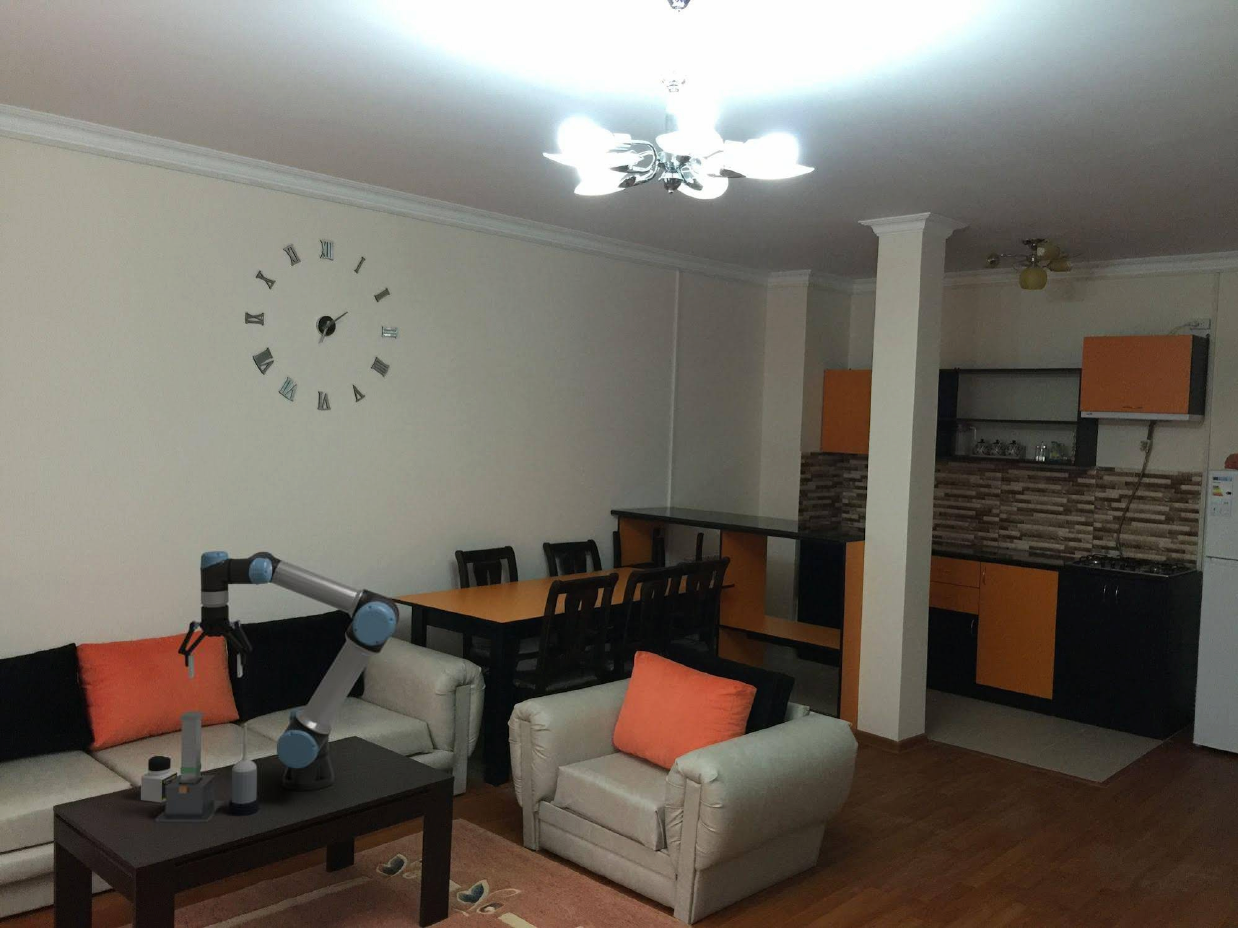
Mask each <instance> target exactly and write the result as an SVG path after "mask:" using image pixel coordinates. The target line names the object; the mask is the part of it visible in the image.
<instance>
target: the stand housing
mask: <svg viewBox="0 0 1238 928" xmlns="http://www.w3.org/2000/svg"><path fill="white" fill-rule="evenodd" d="M215 780H216V777H215V775H214V774H213V775H211V774H206V775H205V774H202V775H201V774H200V782H199V783H198V784H197V785H190V784H181V774H178V775H177V777H176V778H175V779H174V780H173V781H172V782H171V783H170V784H169V785H168V786H167V787H166V801H165V809H164V810H163V811H162V812H161V813H160V814H159V815H158V816H157V817H156V818H155V820H154V821H155V823H208V822H209V821H210V820H211V819H212V818H213V816H214V815H215V814H216V813H217V812H218V811H219V809H220V808H221V807H222V806H223V805H224V803H225V802H224V800H215V783H216V782H215Z"/></svg>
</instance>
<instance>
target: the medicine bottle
mask: <svg viewBox="0 0 1238 928" xmlns="http://www.w3.org/2000/svg"><path fill="white" fill-rule="evenodd" d="M147 761H148V762H147V767H148V768H147V773H146V774H144V775H141V777H140V800H141V801H146V802H147V801H148V802H154V803H155V802H156V803H164V802H166V787H167V786H168V785H169V784H170V783H171V782H172V781H173V780H174V779H175V778H176V777H178V771H177V770H172V769H171V768H172V767H171V766H172V758H171V757H170V756H169V755H166V754H159V755H158V754H157V755H154V756H152V757H150V758H149V759H148V760H147Z"/></svg>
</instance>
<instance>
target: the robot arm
mask: <svg viewBox="0 0 1238 928" xmlns="http://www.w3.org/2000/svg"><path fill="white" fill-rule="evenodd" d="M199 570H200V571H199V572H200V573H199V574H200V605H202V606H201V607H200V621H195V620H192V621H191V622H190V623H189V624H188V630H187V632H186V635H185V637H184V638H183V641H182V643H181V645H180V647H179V649H178V651H177V654H178V655H184V666H185V668H186V667H187V668H188V679H189V680H190V679H193V678H194V677H195V654H193V653H192V652H193V651H195V649H196V648H197V647H198V645H200V643H201V642H202V641H203V640H204V638H205V637H206V636H207V637H208V638H214V637H217V638H220V637H223V638H225V640H227V642H229V643H230V645H231V646H232V647H233V648H234V649H235V650H236V652H238V654H237V656H236V659H237V665H236V666H237V670H236V672H237V678H242V676H243V666H245V665H246V664H247V663H246V662H247V660H246V659H247V658H246V657H247V654H248V653H250V652H251V651H252V650H253V647H252V645H251V642H250V641H249V639H248V638H247V635H246V634H245V632H244V630H243V628H242V625H241V620H240V619H237V620H234V621H230V615H229V614H230V611H229V608H230V607H229V606H230V605H228V603H229V600H230V599H229V585H255V586H256V585H257V586H258V585H265V584H266V585H267V584H268V583H270V584H273V585H276V586H279V587H281V588H284V589H286V590H289V591H291V592H294V593H297V594H299V595H302V596H304V597H306V598H309V599H312V600H314V601H317V602H319V603H321V604H324V605H327V606H329V607H332V608H335V609H337V610H339V611H342V612H345V613H347V614H349V616H350V618H351V619H352V622H351V623H350V625H349V626H348V628H347V630H346V631H345V633H344V635H345V640H346V641H345V643H344V644H343V646H342V648H341V650H339V652H338V654H337V656H336V658H335V659H334V661H333V662H332V664H331V665H330V667H329V669H328V670H327V672H326V674H325V675H324V677H323V678H322V680H321V682H320V684H319V685H318V686H317V688H316V690H315V691H314V693H313V695H311V698H310V700H309V702H308V703H307V704H306V706H305V707H297V708H293V709H292V710H291V711H290V712H289V717H288V719H289V724H288V725H287V727H286V729H284V732H283V733H282V734H281V735H280V737H279V738H278V740H277V744H276V754H277V757H278V758H279V760H280V761H281V762H282V763H283V765H285V766H286V767H285V770H284V773H283V776H282V785H283V787H284V788H286V789H288V790H292V791H300V792H302V791H303V792H304V791H316V790H319V789H323V788H327V787H329V786H330V785H332V784H333V783H334V781H335V780H334V779H335V777H334V776H335V774H334V770H333V767H332V763H331V761H330V757H329V750H330V749H329V741H330V739H329V737H330V734H331V732H332V727H331V722H332V721H333V719H334V718H335V717H336V715H337V713H338V711H339V709H340V708H341V707H342V705H343V703H344V702H345V700H346V698H347V696H348V695H349V694H350V692H351V690H352V688H353V687H354V685H355V683H356V682H357V680H358V679H359V677H360V676H361V674H362V672H363V671H364V670H365V668H366V666H367V664H368V663H369V661H370V659H371V658H372V656H374V655H378V654H380V653H381V651H382V650H383V648H384V647H385V645H386V643H387V641H388V640H389V639H390V637H392V634H393V633H394V631H395V629H396V626H397V625H398V623H399V621H400V609H399V607H398V605H397V603H395V601H394V600H393V599H391V598H390V597H388V596H385V595H384V594H383V595H382V594H379V593H377V592H374V591H372V590H368V589H365V588H362V589H357V588H354V587H351V586H350V585H349V586H348V585H346V584H344V583H342V582H338V581H336V580H334V579H331V578H328V577H326V576H324V575H321V574H318V573H316V572H314V571H311V570H308V569H305V568H302V567H301V566H298V565H295V564H292V563H290V562H287V561H285V560H282V559H280V558H277V557H276V556H275V555H273V553H272V552H269V551H257V552H255V553H254V554H253V555H251V556H249V557H247V558H245V557H244V558H231V557H229V553H228V552H227V551H221V550H215V551H214V550H213V551H206V552H203V553H202V554H201V556H200V567H199ZM199 627H200V628H199ZM230 627H232V629H234V631H235V633H236V635H237V636H238V638H239V640H240V642H241V643H242V644H241V643H240V642H239V640H238V639H237V638H236V637H235V636H234V635H233V634H232V632H231V631H230V630H229V628H230ZM198 628H199V629H201V630H202V632H201V633H200V634H199V636H198V637H197V638H196V639H195V640H194V642H193V643H192V644H191V645H190V646H189V648H188V649H187V647H188V645H189V643H190V640H191V639H192V638H193V635H194V633H195V631H196V630H197V629H198Z"/></svg>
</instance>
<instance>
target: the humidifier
mask: <svg viewBox="0 0 1238 928" xmlns="http://www.w3.org/2000/svg"><path fill="white" fill-rule="evenodd" d="M247 735H248V723H244V724H243V741H242V743H243V744H242V745H243V754H242V758H241V760H238V761H237V762H236V763H235V764H234V765H233V767H232V769H231V770H232V771H231V799H230V800H229V802H228V814H229V815H231V816H235V817H245V816H251V815H254V814H256V813H257V812H258V811H259V810H260V801H259V798H258V796H257V790H258V789H257V788H258V787H257V785H258V784H257V783H258V782H257V781H258V778H257V777H258V769H257V764H256V763H255V762H254V761H253V760H250V759H248V757H247V755H248V754H247V753H248V745H247V744H248V743H247V739H248V737H247Z"/></svg>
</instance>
